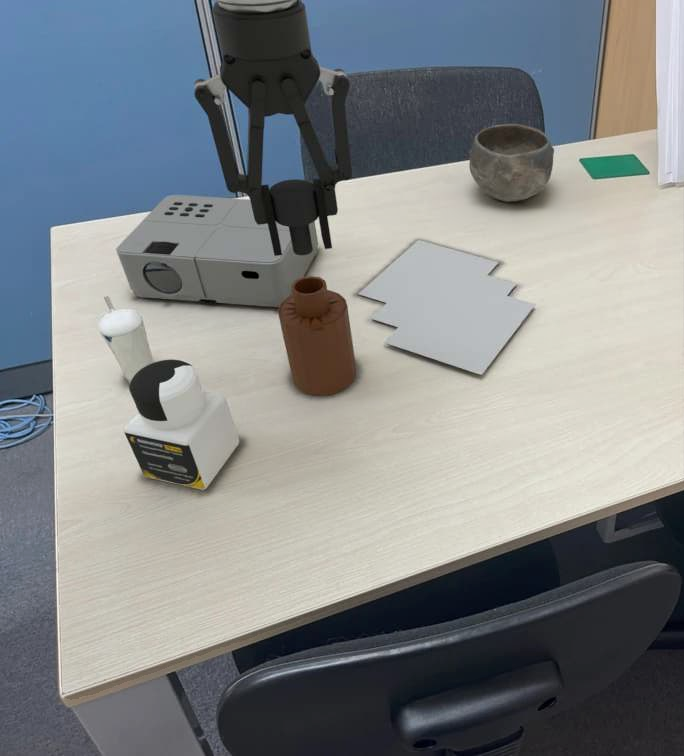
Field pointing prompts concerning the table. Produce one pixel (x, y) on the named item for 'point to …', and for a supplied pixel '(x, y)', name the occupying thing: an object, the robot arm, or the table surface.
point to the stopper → (295, 211)
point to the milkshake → (126, 339)
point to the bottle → (317, 338)
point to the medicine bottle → (179, 425)
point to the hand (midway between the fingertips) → (302, 245)
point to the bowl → (511, 161)
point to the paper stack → (447, 306)
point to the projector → (211, 254)
